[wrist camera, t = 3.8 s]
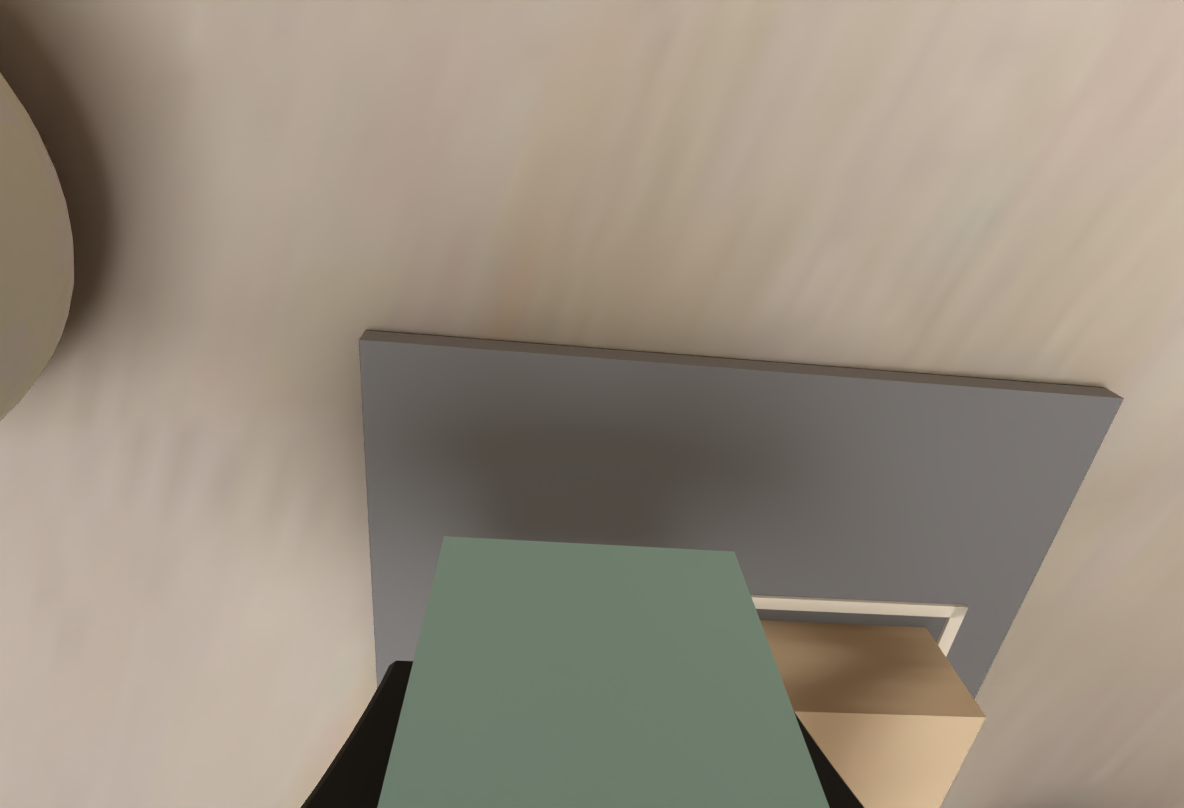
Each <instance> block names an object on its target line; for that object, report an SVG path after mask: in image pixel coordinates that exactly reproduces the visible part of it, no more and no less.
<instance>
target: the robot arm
mask: <svg viewBox="0 0 1184 808" xmlns="http://www.w3.org/2000/svg"><path fill="white" fill-rule="evenodd" d="M412 665H413V661H395V662H393V663H392V664H390V665H389V667H388V669H387V671H386V673H385V675H384V677H383V679H382V681H381V683H380V685H379V687H378V688H377V690H376V692H375V694H374V696H373V697H372V699H371V701H370V703H369V705H368V706H367V708H366V710H365V711H364V713H363V715H362V716H361V718H360V720H359V721H358V723H357V725H356V726H355V728H354V729H353V731H352V733H351V734H350V736H349V738H348V739H347V741H346V742H345V744H344V745H343V747H342V748H341V750H340V751H339V753H338V754H337V756H336V757H335V759H334V760H333V762H332V763H331V765H330V766H329V768H328V769H327V771H326V772H325V774H324V775H323V777H322V778H321V780H320V781H319V783H318V784H317V786H316V787H315V789H314V790H313V791H312V793H311V794H310V796H309V797H308V798H307V800H306V801H305V802H304V804H303V805H302V806H301V808H377V807H378V803H379V799H380V795H381V791H382V787H383V782H384V778H385V774H386V770H387V766H388V762H389V758H390V754H391V750H392V746H393V742H394V738H395V734H396V730H397V726H398V721H399V717H400V713H401V709H402V705H403V701H404V697H405V693H406V689H407V685H408V681H409V677H410V673H411V669H412ZM794 713H795V712H794ZM795 716H796V719H797V721H798V724H799V727H800V729H801V732H802V735H803V737H804V740H805V743H806V746H807V748H808V751H809V754H810V756H811V759H812V762H813V764H814V767H815V770H816V772H817V775H818V778H819V781H820V783H821V786H822V789H823V791H824V794H825V797H826V799H827V802H828V805H829V807H830V808H864V806H863V805H862V804H861V803H860V801H859V800H858V799H857V797H856V796H855V795H854V793H853V792H852V791H851V789H850V788H849V787H848V785H847V784H846V783H845V781H844V780H843V779H842V777H841V776H840V775H839V773H838V772H837V771H836V769H835V768H834V767H833V765H832V764H831V763H830V761H829V760H828V759H827V757H826V756H825V754H824V753H823V752H822V750H821V749H820V748H819V746H818V745H817V743H816V742H815V740H814V739H813V738H812V736H811V735H810V733H809V732H808V731H807V729H806V728H805V726H804V725H803V723H802V722H801V721H800V719H799V718H798V716H797V715H796V713H795Z"/></svg>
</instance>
